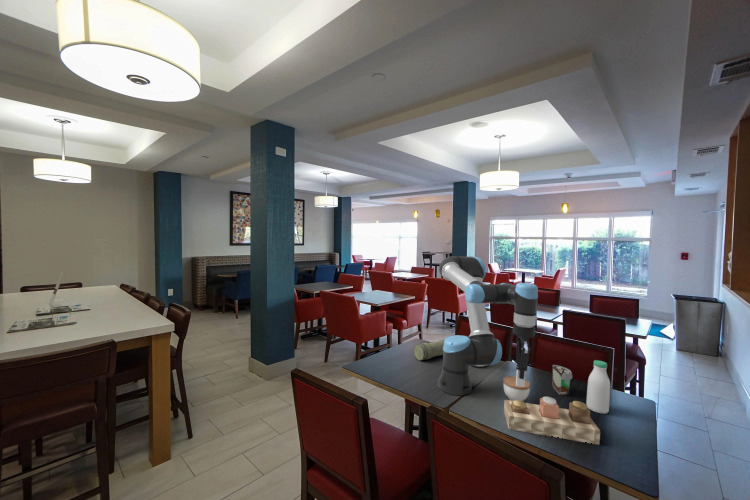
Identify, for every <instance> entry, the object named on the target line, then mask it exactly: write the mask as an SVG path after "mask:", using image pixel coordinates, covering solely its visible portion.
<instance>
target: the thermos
mask: <svg viewBox="0 0 750 500" xmlns="http://www.w3.org/2000/svg"><path fill="white" fill-rule="evenodd" d="M445 339H446V338H443V339H439V340H437V341H434V342H422V343H418V344H416V345H414V347H413V354H414V357H415V358H416V360H418V361H425V360H429V359H431V358H434V357H438V356H443V347H444V341H445Z"/></svg>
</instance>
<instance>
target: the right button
mask: <svg viewBox="0 0 750 500" xmlns="http://www.w3.org/2000/svg"><path fill="white" fill-rule="evenodd" d="M568 405H569V406H568V407H569V408H568V410H569V416H570V418H571V419H572V421H573V422H577V423H583V424H590V418H591V410H590V409H589V408H588V407H587V405H586V403H584V402H582V401H579V400H573V401H572V402H569V404H568Z"/></svg>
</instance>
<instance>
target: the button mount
mask: <svg viewBox="0 0 750 500" xmlns="http://www.w3.org/2000/svg"><path fill="white" fill-rule="evenodd" d="M512 402H514V401H511V400H510V399H504V406H503V413H504V417H505V420H506V424H507V428H508V430H513V431H518V432H523V433H530V434H535V435H541V436H545V435H546V437H551V436H553V437H552V438H557V437H559V438H558V439H562V438H563V439H565V440H569V441H574V442H581V443H585V442H587V443H586V444H591V443H592V445H598V446H600V440H601V429H600V428H599V427H598V426H597V424H596V423H595V422H594V421H593V419H592V417H590V424H583V423H577V422H573V421H572V419H571V418H570V416H569V408H568V409H567V408H561V407H559V413H558V419H552V418H546V417H542V415H541V413H540V404H534V403H529V402H525V403H526V406H527V408H528V414H522V413H515V412H513V411H512V408H511V404H512Z"/></svg>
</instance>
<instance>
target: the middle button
mask: <svg viewBox="0 0 750 500" xmlns="http://www.w3.org/2000/svg"><path fill="white" fill-rule="evenodd" d="M539 405H540V413H541V415H542V417H546V418H552V419H558V413H559V408H560V406H559V405H558V403H557V400H556V398H553V397H551V396H543V397H540V398H539Z"/></svg>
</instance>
